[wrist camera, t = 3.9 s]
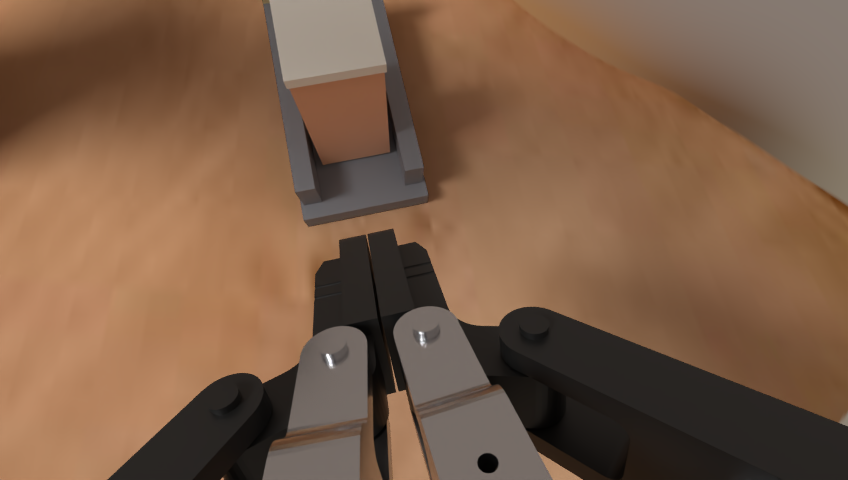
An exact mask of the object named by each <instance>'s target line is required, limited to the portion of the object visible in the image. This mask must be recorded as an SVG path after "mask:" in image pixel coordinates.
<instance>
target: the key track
mask: <svg viewBox="0 0 848 480" xmlns="http://www.w3.org/2000/svg"><path fill="white" fill-rule="evenodd" d="M371 1H372V5H373V9H374V14H375V18H376V22H377V26H378V30H379V35H380V39H381V43H382V47H383V52H384V56H385V60H386V64H387V72H385V85H386V100H387V115H388V130H389V144H390V152H389V153H384V154H379V155H373V156H368V157H363V158H358V159H352V160H347V161H342V162H336V163H331V164H326V165H323V164H322V162H321V159H320V157H319V155H318V153H317V150H316V148H315V146H314V144H313V141H312V139H311V137H310V134H309V132H308V130H307V128H306V125H305V123H304V121H303V119H302V116H301V114H300V112H299V109H298V107H297V105H296V103H295V100H294V98H293V96H292V94H291V91H290V89H287V88H286V86H285V84H284V82H283V76H282V71H281V65H280V59H279V53H278V47H277V42H276V36H275V30H274V24H273V19H272V13H271V7H270V1H269V0H262V2H263V5H264V11H265V17H266V23H267V29H268V35H269V40H270V46H271V52H272V58H273V64H274V70H275V76H276V82H277V88H278V94H279V100H280V106H281V112H282V117H283V123H284V129H285V135H286V141H287V147H288V153H289V159H290V165H291V171H292V177H293V183H294V188H295V193H296V194H297V196H298V197H299V199H300V202H301V207H302V213H303V219H304V221H305V223H306V224H307V225H308V226H314V225H319V224H324V223H329V222H334V221H339V220H344V219H348V218H353V217H358V216H363V215H368V214H373V213H378V212H383V211H388V210H393V209H398V208H403V207H408V206H413V205H417V204H422V203H427V201H428V191H427V187H426V183H425V179H424V175H423V172H424V165H423V161H422V157H421V153H420V149H419V145H418V141H417V137H416V133H415V129H414V125H413V120H412V116H411V112H410V108H409V104H408V100H407V96H406V92H405V88H404V84H403V80H402V76H401V71H400V67H399V63H398V59H397V55H396V51H395V47H394V43H393V39H392V35H391V31H390V27H389V22H388V18H387V14H386V10H385V6H384V2H383V0H371Z"/></svg>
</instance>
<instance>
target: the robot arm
mask: <svg viewBox="0 0 848 480" xmlns="http://www.w3.org/2000/svg"><path fill="white" fill-rule="evenodd" d="M368 240H369V246H370V251H369V247H368V242H367V238H366V235H361V236H356V237H351V238H347V239H342V240H339V247H340V258H338V259H334V260H329V261H324V262H323V264H322V265H321V267H320V268H319V270H318V271H317V273H316V274H315V300H314V321H313V337H312V338H311V339H310V340H309V341H308V342H307V343H306V345H305V346H304V348H303V350H302V352H301V355H300V361H299V363H298V364H297V365H296V366H295V367H293V368H292V369H290V370H289V371H287V372H285V373H283V374H281V375H279V376H277V377H275V378H273V379H271V380H269V381H267V382H265V383H263V384H262V382H261V380H260V379H259V378H258V377H256V376H254V375H252V374H248V373H237V374H232V375H229V376H226V377H223V378H221V379H219V380H217V381H215V382H213V383H212V384H210V385H209V386H208V387H206V388H205V389H204V390H203V391H202V392H200V393H199V394H198V395H197V396H196V397H195V398H194V399H193V400H192V401H191V402H190V403H189V404H188V405H187V406H186V407H185V408H183V409H182V410H181V411H180V412H179V413H178V414H177V415H176V416H175V417H174V418H173V419H172V420H171V421H170V422H169V423H167V424H166V425H165V426H164V427H163V428H162V429H161V430H160V431H159V432H158V433H157V434H156V435H155V436H154V437H153V438H151V439H150V440H149V441H148V442H147V443H146V444H145V445H144V446H143V447H142V448H141V449H140V450H139V451H138V452H137V453H135V454H134V455H133V456H132V457H131V458H130V459H129V460H128V461H127V462H126V463H125V464H124V465H123V466H122V467H121V468H119V469H118V470H117V471H116V472H115V473H114V474H113V475H112V476H111V477H110V478H109V479H108V480H221V478H222V477H223V478H224V480H393V470H392V452H391V433H390V423H389V419H388V416H389V408H388V401H387V394H391V393H395V392H396V389H395V383H394V377H393V371H392V365H393V370H394V374H395V378H396V382H397V386H398V390H399V391H403V390H406V392H407V397H408V401H409V405H410V410H411V414H412V419H413V422H414V426H415V429H416V433H417V436H418V440H419V443H420V447H421V450H422V454H423V457H424V461H425V464H426V468H427V471H428V475H429V478H430V480H552V478H551V476H550V474H549V472H548V470H547V469H546V467H545V465H544V463H543V461H542V459H541V457H540V456H539V454H538V452H539V453H541V454H543V455H544V456H546V457H547V458H549V459H551V460H552V461H554V462H556V463H557V464H559V465H560V466H562V467H564V468H565V469H567V470H569V471H570V472H572V473H573V474H575V475H577V476H578V477H580V478H581V479H583V480H848V426H845V425H842V424H840V423H837V422H835V421H832V420H830V419H827V418H825V417H822V416H819V415H817V414H814V413H812V412H809V411H807V410H804V409H802V408H799V407H796V406H794V405H791V404H789V403H786V402H784V401H781V400H779V399H776V398H773V397H771V396H768V395H766V394H763V393H761V392H758V391H756V390H753V389H750V388H748V387H745V386H743V385H740V384H738V383H735V382H733V381H730V380H727V379H725V378H722V377H720V376H717V375H715V374H712V373H710V372H707V371H704V370H702V369H699V368H697V367H694V366H692V365H689V364H687V363H684V362H681V361H679V360H676V359H674V358H671V357H669V356H666V355H664V354H661V353H658V352H656V351H653V350H651V349H648V348H646V347H643V346H641V345H638V344H635V343H633V342H630V341H628V340H625V339H623V338H620V337H618V336H615V335H612V334H610V333H607V332H605V331H602V330H600V329H597V328H595V327H592V326H589V325H587V324H584V323H582V322H579V321H577V320H574V319H572V318H569V317H566V316H564V315H561V314H559V313H556V312H554V311H551V310H548V309H545V308H540V307H524V308H519V309H516V310H514V311H512V312H510V313H508V314H507V315H506V316H505V317H504V318H503V319H502V320H501V322H500V325H499V326H476V325H471V324H467V323H465V322H462V321H460V320H459V319H457V318H456V317H455V315H454V314H453V313H451V312H450V311H449V309H448V306H447V304H446V301H445V298H444V296H443V293H442V290H441V288H440V285H439V282H438V280H437V277H436V274H435V272H434V269H433V266H432V264H431V261H430V258H429V256H428V253H427V250H426V249H424V248H423V247H422V246H420V245H419V244H417V243H416V242H413V243H408V244H404V245H399V246H398V245H397V241H396V237H395V234H394V230H393V229H389V230H384V231H380V232H375V233H370V234H368ZM370 253H371V255H370ZM390 357H391V359H390ZM391 361H392V365H391ZM537 451H538V452H537Z"/></svg>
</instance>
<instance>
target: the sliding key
mask: <svg viewBox="0 0 848 480" xmlns="http://www.w3.org/2000/svg"><path fill="white" fill-rule="evenodd" d="M269 1H270V7H271V13H272V19H273V24H274V30H275V36H276V42H277V47H278V53H279V59H280V65H281V71H282V76H283V82H284V84H285V86H286V88H287V89H290V91H291V94H292V96H293V98H294V100H295V103H296V105H297V107H298V109H299V112H300V114H301V116H302V119H303V121H304V123H305V125H306V128H307V130H308V132H309V134H310V137H311V139H312V141H313V144H314V146H315V148H316V150H317V153H318V155H319V157H320V159H321V162H322V164H323V165H326V164H331V163H336V162H342V161H347V160H352V159H358V158H363V157H368V156H373V155H379V154H384V153H389V152H390V144H389V130H388V115H387V100H386V85H385V72H387V64H386V60H385V56H384V52H383V47H382V43H381V39H380V35H379V30H378V26H377V22H376V18H375V14H374V9H373V5H372V1H371V0H269Z"/></svg>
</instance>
